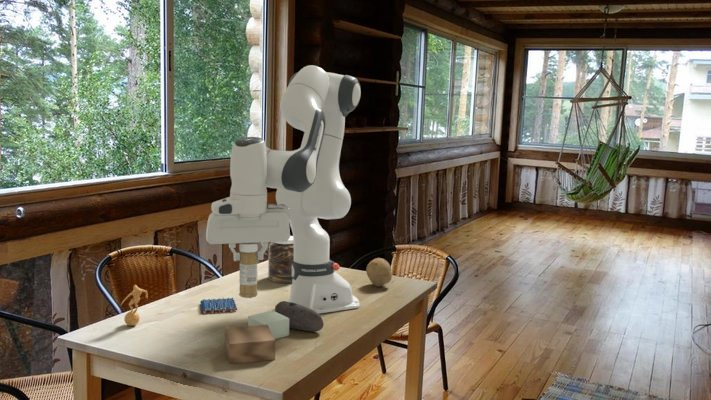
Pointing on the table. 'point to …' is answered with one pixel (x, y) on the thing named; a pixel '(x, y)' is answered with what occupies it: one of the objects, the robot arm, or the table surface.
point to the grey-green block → (271, 323)
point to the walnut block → (249, 344)
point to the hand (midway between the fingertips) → (248, 260)
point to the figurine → (133, 316)
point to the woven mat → (218, 305)
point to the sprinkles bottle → (248, 269)
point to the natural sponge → (379, 272)
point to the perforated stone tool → (300, 316)
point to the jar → (281, 261)
